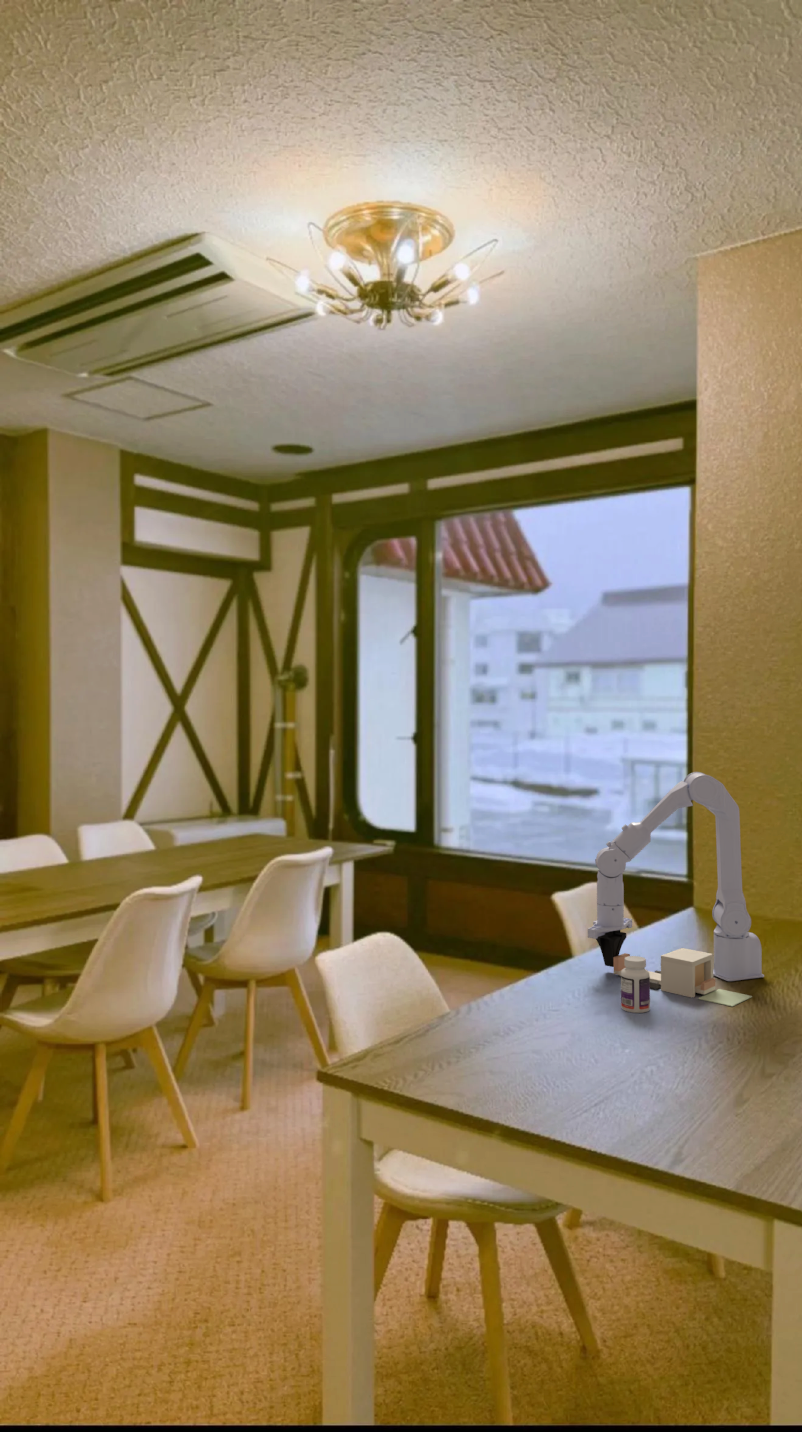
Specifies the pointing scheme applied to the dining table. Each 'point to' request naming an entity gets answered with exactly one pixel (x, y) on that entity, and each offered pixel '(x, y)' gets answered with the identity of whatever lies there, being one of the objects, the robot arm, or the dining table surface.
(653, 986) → the pit tray
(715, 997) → the pad
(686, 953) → the tunnel
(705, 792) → the robot arm
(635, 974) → the pill bottle
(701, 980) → the sled
